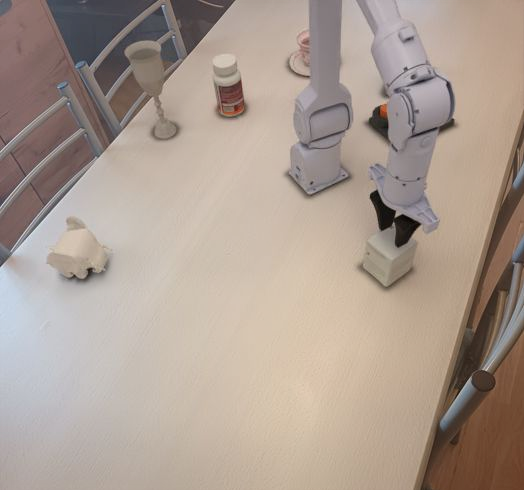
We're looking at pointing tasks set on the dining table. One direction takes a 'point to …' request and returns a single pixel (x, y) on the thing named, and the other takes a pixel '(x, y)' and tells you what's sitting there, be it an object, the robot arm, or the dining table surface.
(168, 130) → the chalice
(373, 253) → the product box
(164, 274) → the dining table surface
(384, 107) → the button
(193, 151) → the dining table surface
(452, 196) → the dining table surface
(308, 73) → the teacup
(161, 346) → the dining table surface
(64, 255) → the elephant figurine
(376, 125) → the scale
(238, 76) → the pill bottle
